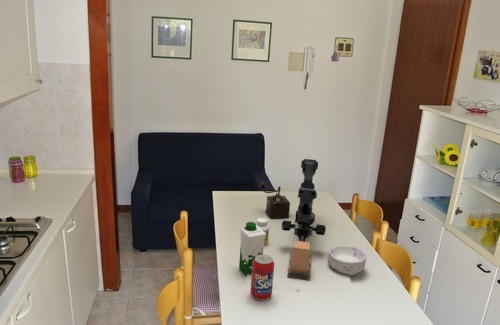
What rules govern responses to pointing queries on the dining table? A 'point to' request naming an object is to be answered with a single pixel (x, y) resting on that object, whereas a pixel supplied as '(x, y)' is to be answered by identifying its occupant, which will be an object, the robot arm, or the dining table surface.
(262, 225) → the supplement bottle
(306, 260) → the block
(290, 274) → the brown wooden tray
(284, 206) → the brown manual coffee grinder
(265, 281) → the soda can
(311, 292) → the dining table surface
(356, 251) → the paper bowls
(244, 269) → the milk carton
